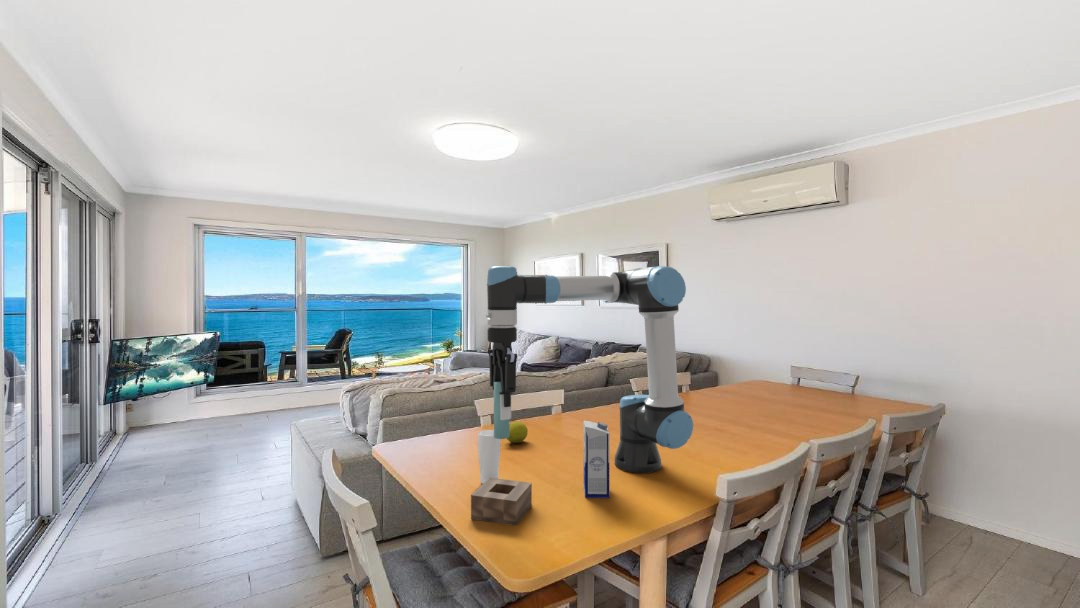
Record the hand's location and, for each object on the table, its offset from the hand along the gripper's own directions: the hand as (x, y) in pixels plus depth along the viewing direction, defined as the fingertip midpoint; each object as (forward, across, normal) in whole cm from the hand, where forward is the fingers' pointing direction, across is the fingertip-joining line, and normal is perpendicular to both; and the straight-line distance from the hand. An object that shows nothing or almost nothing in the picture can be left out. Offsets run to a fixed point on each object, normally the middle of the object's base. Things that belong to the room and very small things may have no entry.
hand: (502, 417), depth 123 cm
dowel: (+5, 0, 0) cm, 5 cm away
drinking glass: (+25, -20, +4) cm, 32 cm away
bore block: (+25, 0, 0) cm, 25 cm away
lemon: (+25, -52, +28) cm, 64 cm away
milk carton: (+25, +1, +28) cm, 38 cm away
